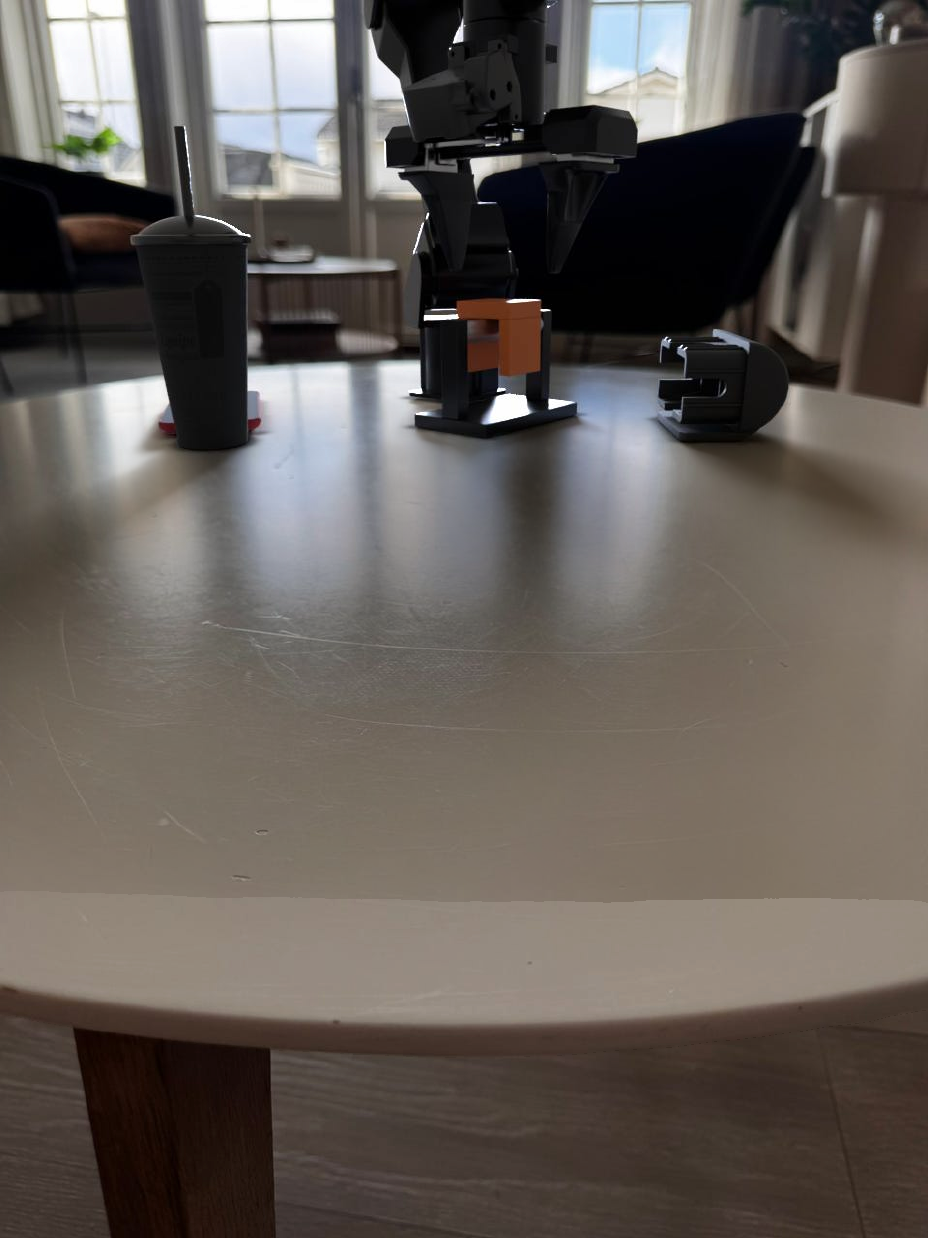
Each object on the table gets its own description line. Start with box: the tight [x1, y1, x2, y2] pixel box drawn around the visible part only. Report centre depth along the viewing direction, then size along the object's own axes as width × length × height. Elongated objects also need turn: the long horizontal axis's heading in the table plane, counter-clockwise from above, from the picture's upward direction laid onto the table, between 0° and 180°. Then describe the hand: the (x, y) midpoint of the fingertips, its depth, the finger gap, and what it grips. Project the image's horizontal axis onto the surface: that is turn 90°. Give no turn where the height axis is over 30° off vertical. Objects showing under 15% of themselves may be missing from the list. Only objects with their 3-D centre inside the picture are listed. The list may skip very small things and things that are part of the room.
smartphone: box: [158, 390, 262, 435], centre depth 75 cm, size 7×1×15 cm
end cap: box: [656, 328, 790, 443], centre depth 68 cm, size 10×7×7 cm
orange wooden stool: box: [456, 298, 542, 377], centre depth 70 cm, size 5×4×5 cm
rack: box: [414, 309, 578, 439], centre depth 71 cm, size 7×12×8 cm, turn 141°
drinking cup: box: [129, 125, 252, 451], centre depth 62 cm, size 8×8×20 cm
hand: (503, 271), depth 69 cm, fingers open, 9 cm apart
